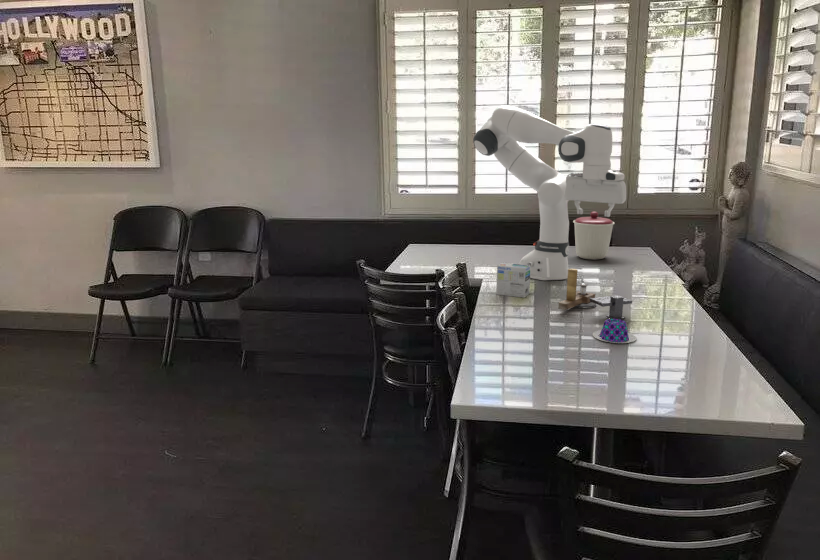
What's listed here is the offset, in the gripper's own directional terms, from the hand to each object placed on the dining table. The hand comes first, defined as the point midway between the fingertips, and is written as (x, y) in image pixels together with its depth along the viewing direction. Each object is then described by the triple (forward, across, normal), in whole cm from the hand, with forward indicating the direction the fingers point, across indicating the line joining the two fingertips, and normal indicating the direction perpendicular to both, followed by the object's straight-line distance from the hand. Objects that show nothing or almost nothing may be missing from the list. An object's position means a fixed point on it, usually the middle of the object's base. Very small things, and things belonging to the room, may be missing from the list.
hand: (593, 215), depth 222 cm
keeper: (+29, +14, -17) cm, 36 cm away
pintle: (+29, +1, -8) cm, 30 cm away
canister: (+29, -24, +72) cm, 81 cm away
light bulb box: (+30, -24, -9) cm, 39 cm away
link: (+28, +1, -14) cm, 31 cm away
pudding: (+30, +21, -37) cm, 52 cm away
